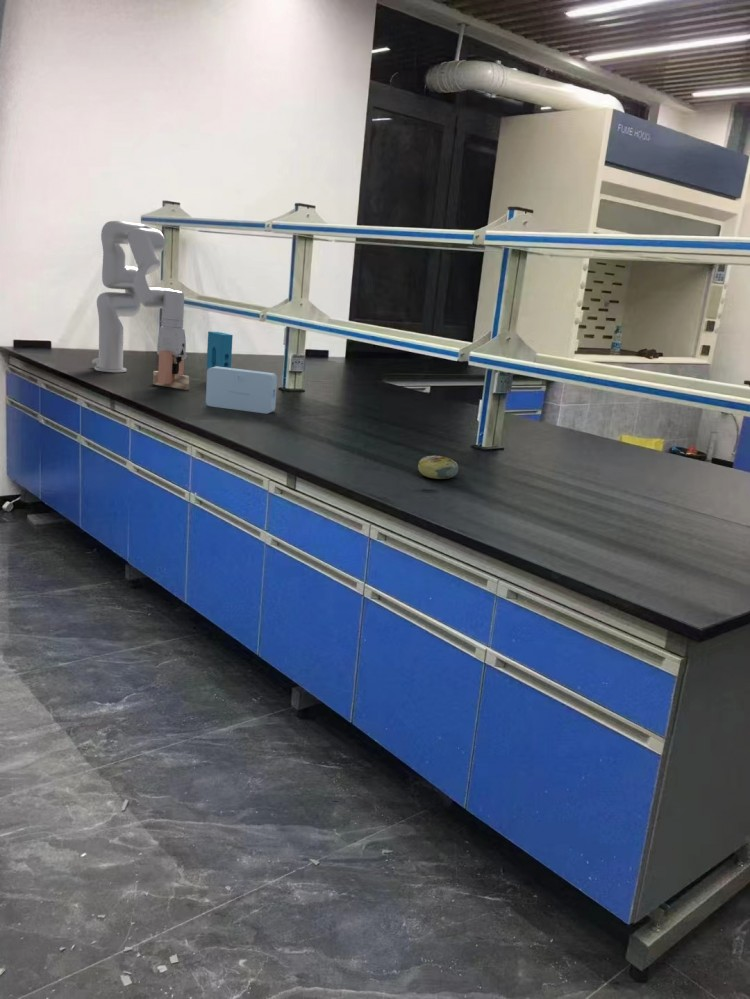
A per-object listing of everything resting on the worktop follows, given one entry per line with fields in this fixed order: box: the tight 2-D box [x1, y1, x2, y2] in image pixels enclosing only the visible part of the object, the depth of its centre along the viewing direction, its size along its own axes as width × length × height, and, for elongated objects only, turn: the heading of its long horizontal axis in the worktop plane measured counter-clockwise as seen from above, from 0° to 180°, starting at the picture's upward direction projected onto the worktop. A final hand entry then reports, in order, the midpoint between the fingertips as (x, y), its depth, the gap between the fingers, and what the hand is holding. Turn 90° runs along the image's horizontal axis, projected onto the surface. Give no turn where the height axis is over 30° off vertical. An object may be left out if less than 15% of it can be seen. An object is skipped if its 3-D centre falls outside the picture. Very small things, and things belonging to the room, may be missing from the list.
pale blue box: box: [205, 366, 278, 415], centre depth 290 cm, size 23×6×13 cm, turn 79°
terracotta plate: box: [157, 351, 185, 384], centre depth 323 cm, size 3×12×12 cm, turn 158°
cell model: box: [417, 455, 459, 480], centre depth 222 cm, size 10×8×14 cm
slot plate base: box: [152, 370, 190, 391], centre depth 324 cm, size 15×2×5 cm, turn 68°
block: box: [206, 330, 233, 371], centre depth 344 cm, size 12×5×20 cm, turn 41°
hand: (171, 372), depth 324 cm, fingers closed on terracotta plate, 3 cm apart
